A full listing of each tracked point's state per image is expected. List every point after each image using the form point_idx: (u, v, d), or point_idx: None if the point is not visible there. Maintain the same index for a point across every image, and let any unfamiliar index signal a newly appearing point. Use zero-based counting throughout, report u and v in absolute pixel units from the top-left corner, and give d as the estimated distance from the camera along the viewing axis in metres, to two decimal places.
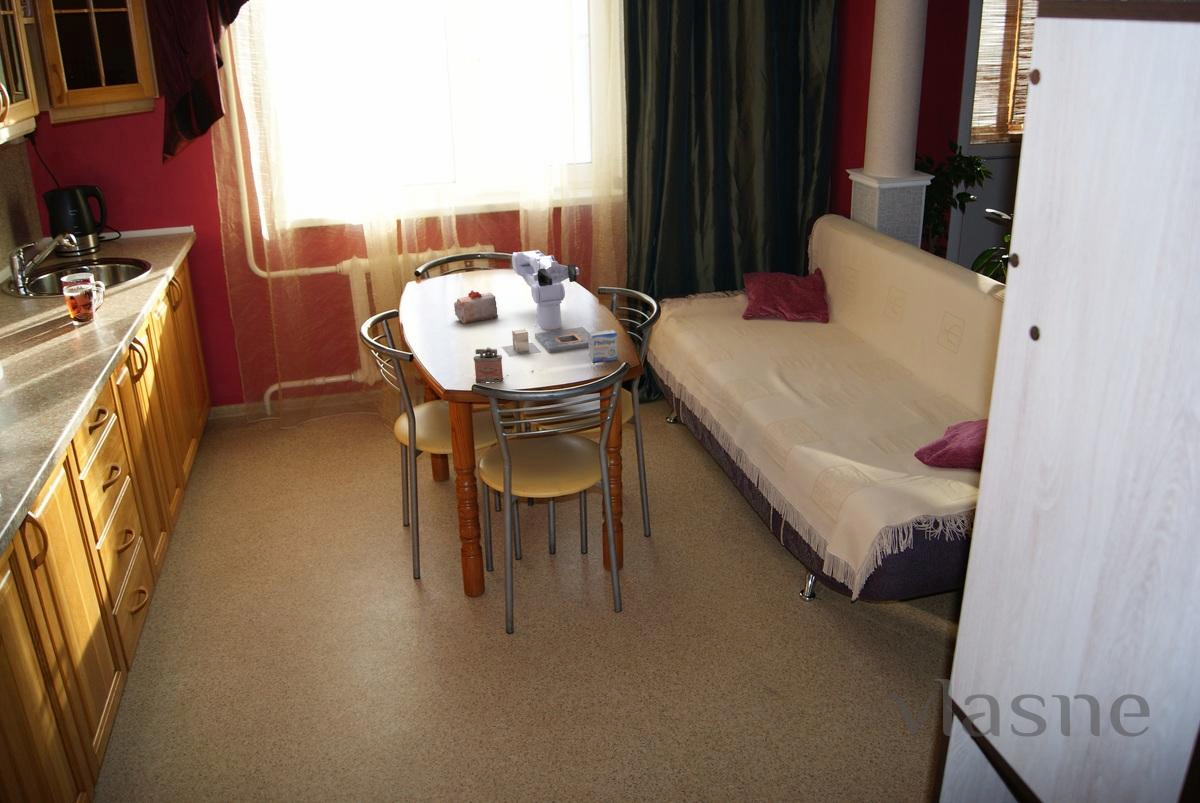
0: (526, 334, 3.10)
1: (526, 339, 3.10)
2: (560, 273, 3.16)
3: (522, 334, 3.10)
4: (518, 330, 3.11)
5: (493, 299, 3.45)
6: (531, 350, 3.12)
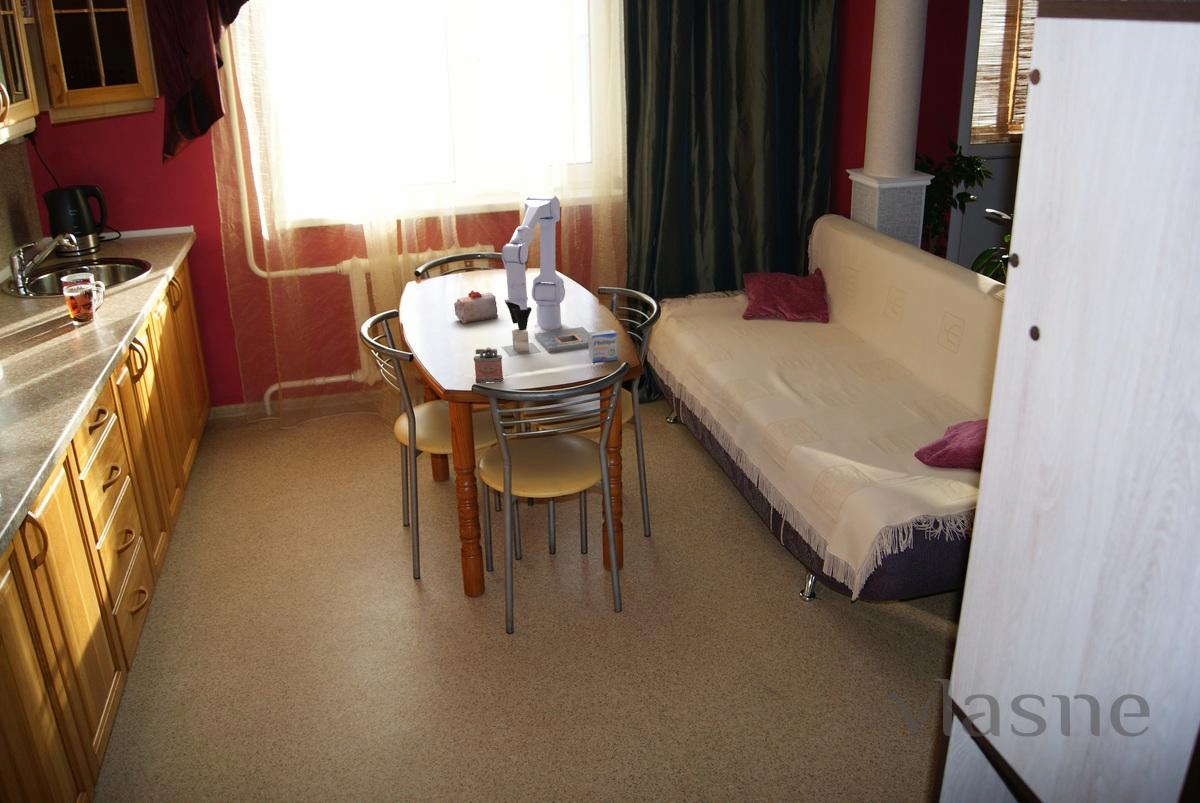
0: (526, 334, 3.10)
1: (526, 339, 3.10)
2: None
3: (522, 334, 3.10)
4: (518, 330, 3.11)
5: (493, 299, 3.45)
6: (531, 350, 3.12)
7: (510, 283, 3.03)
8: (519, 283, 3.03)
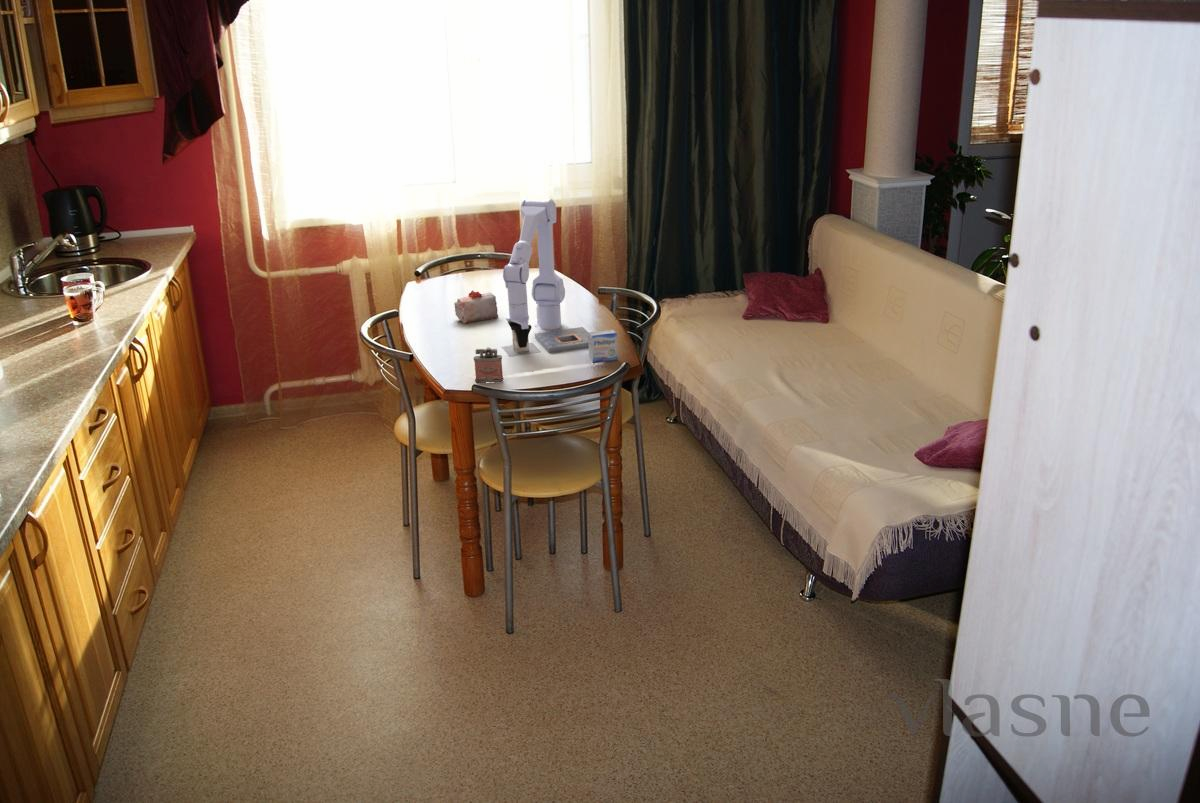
0: None
1: None
2: None
3: None
4: None
5: (493, 299, 3.45)
6: (531, 350, 3.12)
7: (511, 302, 3.05)
8: (520, 302, 3.05)
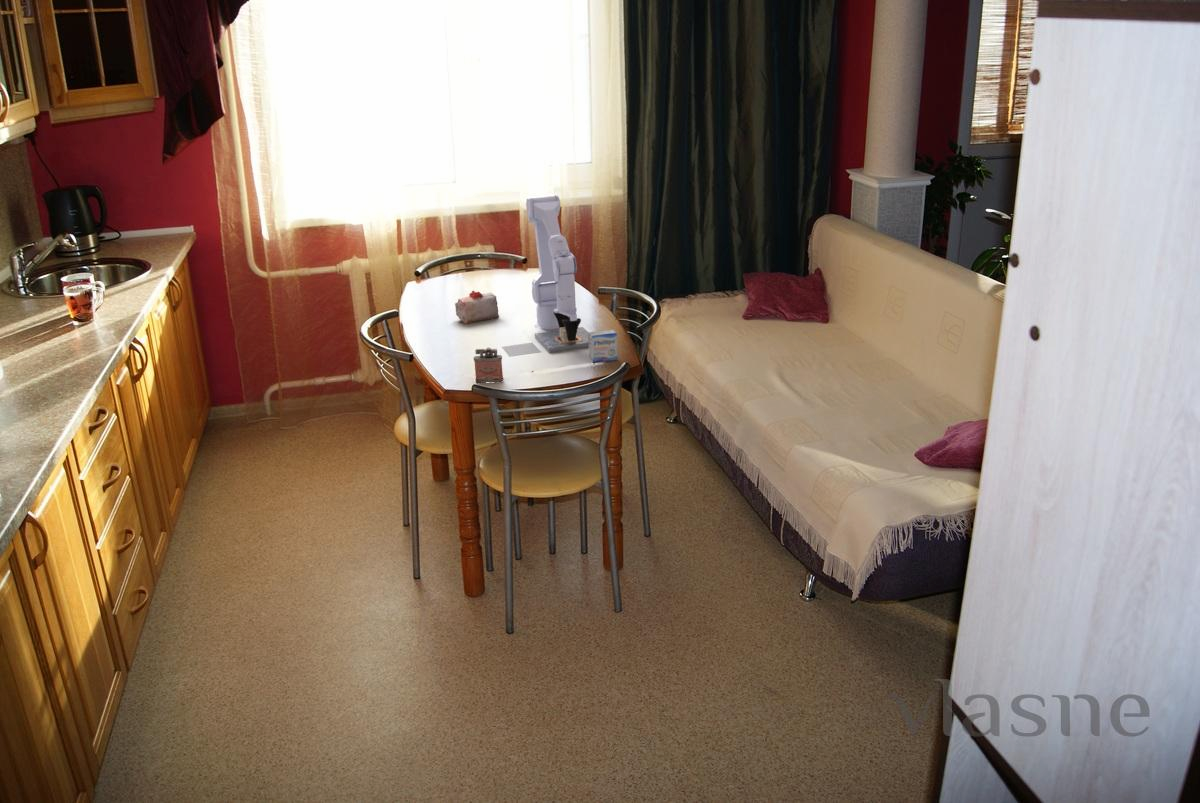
0: None
1: None
2: None
3: None
4: None
5: (494, 299, 3.45)
6: (531, 350, 3.12)
7: (566, 295, 3.08)
8: (573, 293, 3.09)
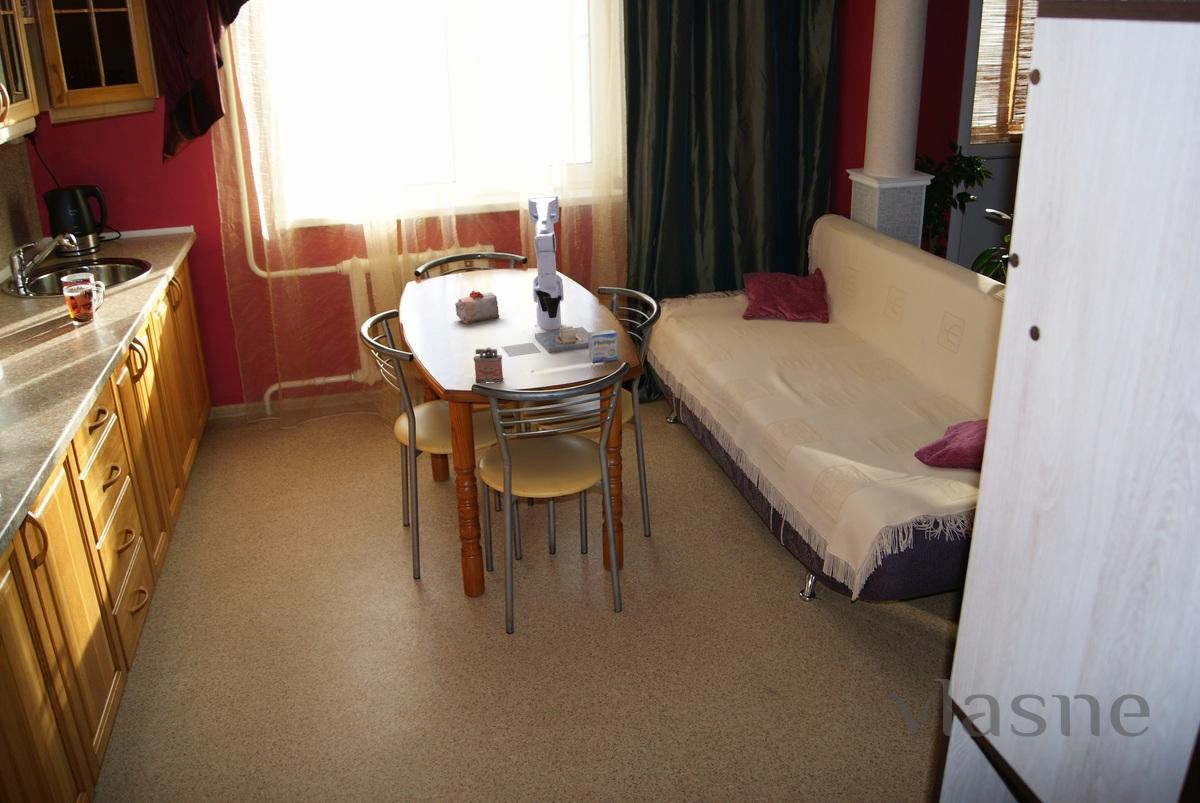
0: (574, 332, 3.14)
1: (573, 337, 3.14)
2: None
3: (570, 332, 3.13)
4: (565, 328, 3.15)
5: (494, 299, 3.45)
6: (531, 350, 3.12)
7: (544, 272, 3.10)
8: (552, 271, 3.10)
